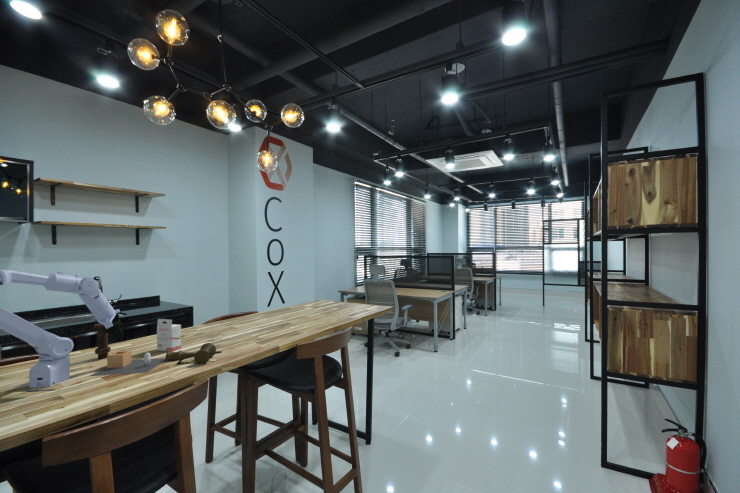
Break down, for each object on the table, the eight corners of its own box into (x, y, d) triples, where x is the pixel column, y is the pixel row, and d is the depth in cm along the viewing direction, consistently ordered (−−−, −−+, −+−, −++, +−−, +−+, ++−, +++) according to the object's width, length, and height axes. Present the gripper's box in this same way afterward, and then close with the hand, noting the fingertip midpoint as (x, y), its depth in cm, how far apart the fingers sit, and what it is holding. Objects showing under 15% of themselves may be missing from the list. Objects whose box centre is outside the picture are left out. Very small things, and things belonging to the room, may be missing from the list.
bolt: (115, 359, 131) (115, 322, 131) (103, 363, 126) (103, 325, 126) (102, 359, 132) (101, 322, 132) (90, 363, 127) (90, 325, 127)
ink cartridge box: (182, 351, 141) (181, 317, 141) (172, 355, 136) (171, 319, 136) (166, 350, 143) (166, 316, 143) (156, 353, 138) (156, 319, 139)
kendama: (172, 361, 130) (225, 355, 134) (162, 370, 121) (219, 363, 125) (171, 346, 130) (224, 340, 134) (161, 354, 121) (218, 348, 125)
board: (147, 376, 111) (147, 359, 112) (89, 380, 109) (89, 362, 109) (169, 361, 127) (169, 346, 127) (119, 364, 125) (119, 348, 125)
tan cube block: (122, 367, 117) (122, 354, 117) (107, 368, 117) (107, 355, 117) (131, 362, 122) (131, 350, 123) (116, 363, 122) (116, 351, 122)
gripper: (112, 307, 115) (133, 336, 121) (111, 293, 125) (130, 320, 132) (88, 318, 111) (111, 347, 117) (90, 303, 122) (110, 330, 128)
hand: (120, 334), depth 124 cm, fingers open, 7 cm apart
